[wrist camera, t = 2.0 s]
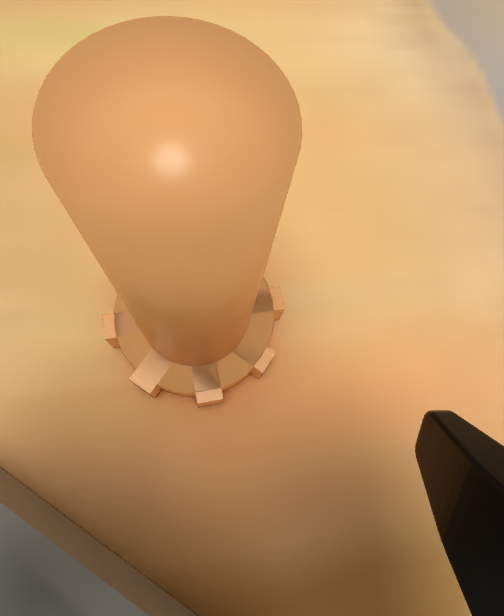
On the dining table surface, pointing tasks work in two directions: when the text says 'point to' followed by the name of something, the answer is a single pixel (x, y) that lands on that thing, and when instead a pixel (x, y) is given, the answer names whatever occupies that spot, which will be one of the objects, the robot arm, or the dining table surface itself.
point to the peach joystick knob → (175, 191)
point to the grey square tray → (66, 566)
